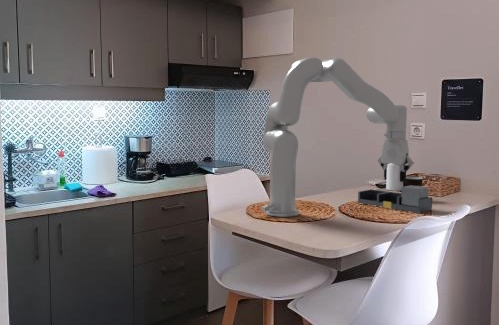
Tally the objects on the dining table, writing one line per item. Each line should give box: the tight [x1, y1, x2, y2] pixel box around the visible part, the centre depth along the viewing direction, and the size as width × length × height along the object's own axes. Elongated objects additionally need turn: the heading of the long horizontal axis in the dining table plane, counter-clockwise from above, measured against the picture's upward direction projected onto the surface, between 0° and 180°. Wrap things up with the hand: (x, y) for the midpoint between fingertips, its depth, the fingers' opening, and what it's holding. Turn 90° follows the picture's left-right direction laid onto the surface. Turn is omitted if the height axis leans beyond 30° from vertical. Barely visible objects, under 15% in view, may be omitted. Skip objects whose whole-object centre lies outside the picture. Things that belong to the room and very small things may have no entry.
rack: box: [357, 185, 433, 214], centre depth 203 cm, size 10×28×9 cm, turn 44°
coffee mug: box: [399, 176, 424, 193], centre depth 219 cm, size 12×9×10 cm
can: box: [385, 163, 403, 192], centre depth 202 cm, size 6×6×12 cm
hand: (394, 180), depth 202 cm, fingers closed on can, 6 cm apart
